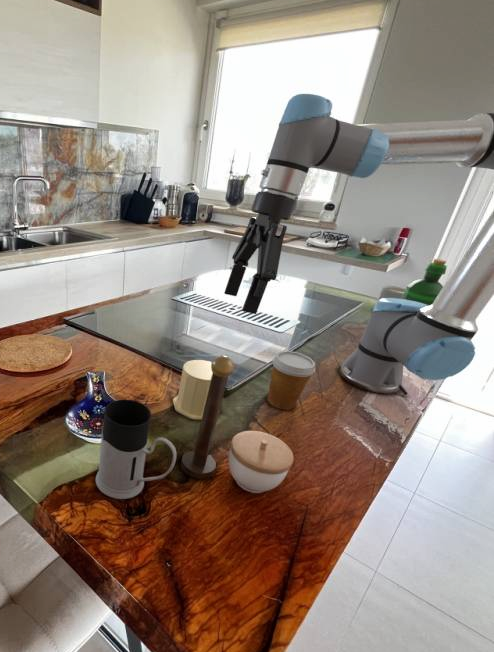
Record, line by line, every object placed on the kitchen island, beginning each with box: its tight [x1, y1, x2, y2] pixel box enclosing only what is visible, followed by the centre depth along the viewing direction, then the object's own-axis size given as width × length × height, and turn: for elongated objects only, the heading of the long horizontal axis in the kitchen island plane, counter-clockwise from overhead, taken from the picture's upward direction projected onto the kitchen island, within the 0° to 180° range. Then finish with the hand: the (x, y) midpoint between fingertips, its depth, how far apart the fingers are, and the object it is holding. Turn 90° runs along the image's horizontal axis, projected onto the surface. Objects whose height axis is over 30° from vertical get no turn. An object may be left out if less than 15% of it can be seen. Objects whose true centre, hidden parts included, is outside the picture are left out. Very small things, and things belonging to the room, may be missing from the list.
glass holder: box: [95, 399, 178, 500], centre depth 69 cm, size 9×14×15 cm, turn 50°
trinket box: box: [227, 430, 294, 494], centre depth 74 cm, size 11×11×9 cm
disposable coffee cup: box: [266, 350, 316, 411], centre depth 98 cm, size 10×10×12 cm
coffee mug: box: [375, 284, 406, 305], centre depth 166 cm, size 13×10×10 cm
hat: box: [172, 359, 221, 421], centre depth 94 cm, size 10×10×10 cm
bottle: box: [402, 258, 448, 306], centre depth 134 cm, size 11×11×28 cm
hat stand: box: [180, 355, 235, 480], centre depth 73 cm, size 6×6×24 cm
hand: (238, 303), depth 87 cm, fingers open, 13 cm apart
